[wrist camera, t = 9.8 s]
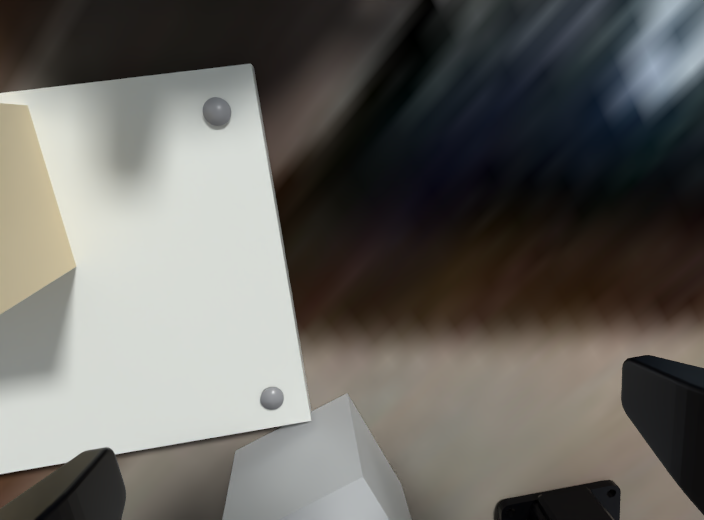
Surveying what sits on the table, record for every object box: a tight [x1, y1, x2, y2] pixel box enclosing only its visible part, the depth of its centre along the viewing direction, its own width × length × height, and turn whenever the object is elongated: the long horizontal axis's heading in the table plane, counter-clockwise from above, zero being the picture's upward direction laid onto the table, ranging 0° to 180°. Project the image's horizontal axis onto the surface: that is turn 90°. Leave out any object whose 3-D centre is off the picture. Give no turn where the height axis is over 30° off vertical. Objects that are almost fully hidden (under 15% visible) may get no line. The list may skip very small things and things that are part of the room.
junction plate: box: [0, 64, 311, 474], centre depth 18 cm, size 15×18×5 cm
